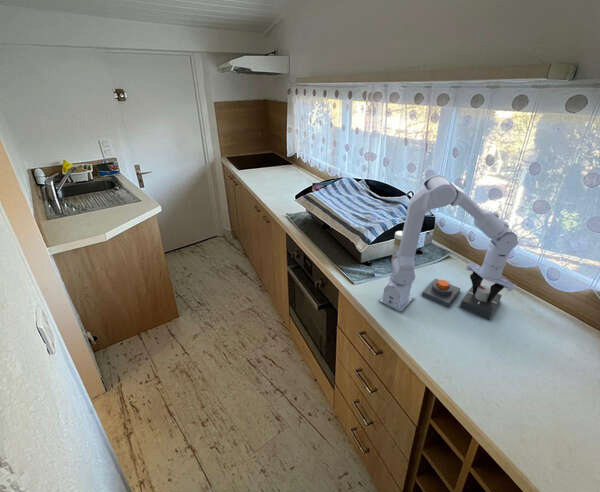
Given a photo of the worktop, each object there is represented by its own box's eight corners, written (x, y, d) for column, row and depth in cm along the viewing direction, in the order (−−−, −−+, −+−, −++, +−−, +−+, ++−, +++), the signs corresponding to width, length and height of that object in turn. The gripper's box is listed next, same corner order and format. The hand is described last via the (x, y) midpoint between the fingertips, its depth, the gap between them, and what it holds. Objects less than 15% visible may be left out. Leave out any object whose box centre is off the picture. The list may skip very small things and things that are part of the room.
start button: (445, 291, 105) (446, 287, 105) (435, 287, 108) (436, 283, 107) (449, 286, 108) (450, 282, 107) (439, 282, 110) (440, 278, 109)
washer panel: (489, 320, 97) (491, 312, 96) (459, 307, 103) (461, 300, 101) (499, 301, 105) (502, 294, 103) (471, 290, 110) (473, 283, 109)
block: (447, 307, 103) (450, 299, 101) (421, 295, 108) (423, 287, 107) (459, 291, 110) (461, 284, 108) (434, 281, 115) (436, 274, 114)
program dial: (492, 299, 102) (495, 290, 100) (484, 303, 100) (487, 294, 98) (479, 291, 105) (482, 283, 103) (471, 296, 103) (474, 287, 101)
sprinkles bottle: (404, 262, 127) (409, 234, 121) (396, 265, 126) (400, 236, 119) (396, 257, 131) (401, 229, 124) (388, 260, 129) (392, 231, 123)
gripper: (525, 269, 92) (511, 304, 99) (479, 249, 103) (469, 281, 109) (513, 277, 89) (499, 312, 95) (466, 255, 100) (457, 288, 106)
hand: (482, 296), depth 102 cm, fingers closed on program dial, 4 cm apart
